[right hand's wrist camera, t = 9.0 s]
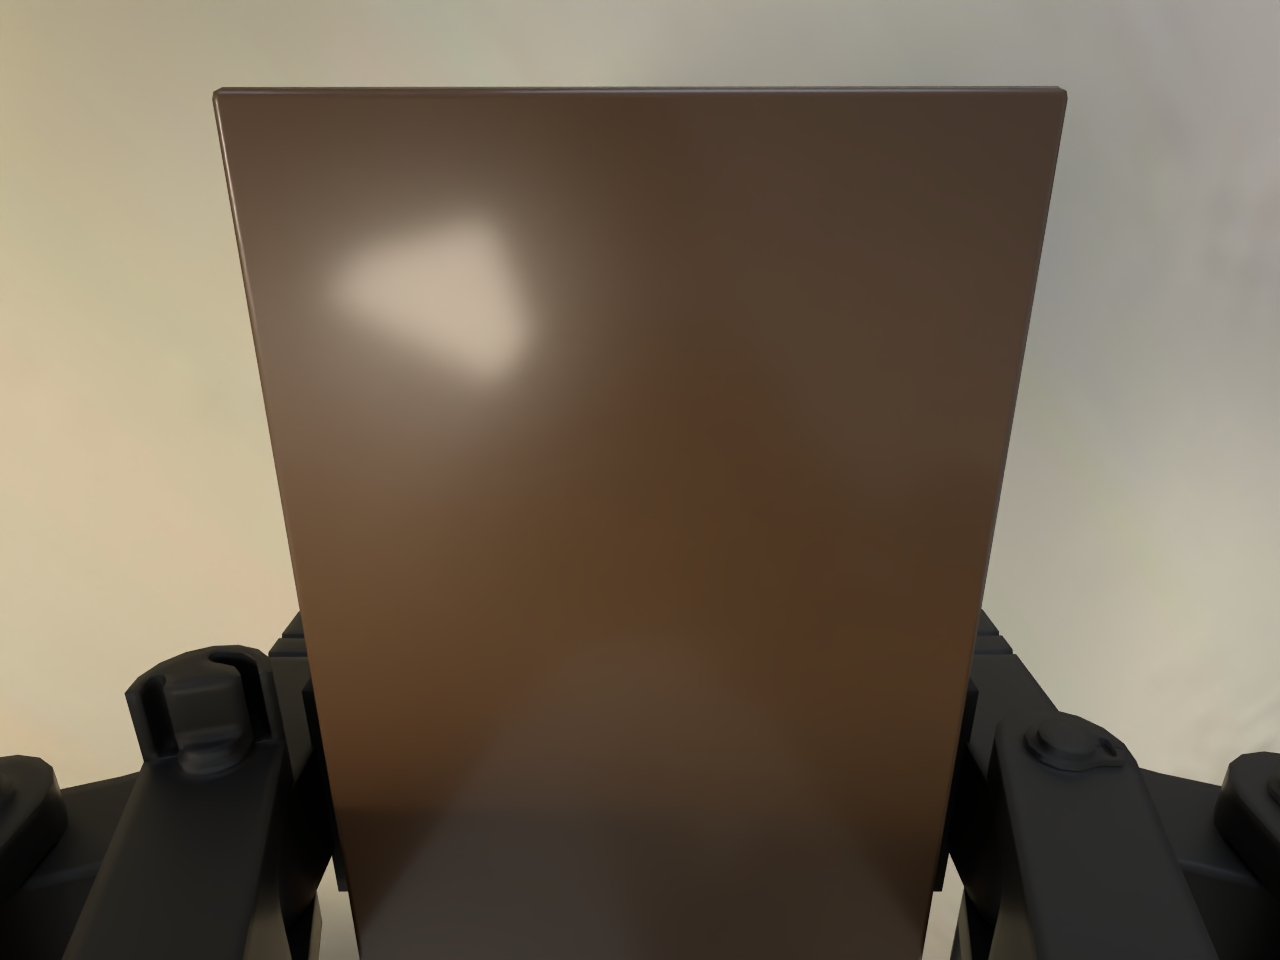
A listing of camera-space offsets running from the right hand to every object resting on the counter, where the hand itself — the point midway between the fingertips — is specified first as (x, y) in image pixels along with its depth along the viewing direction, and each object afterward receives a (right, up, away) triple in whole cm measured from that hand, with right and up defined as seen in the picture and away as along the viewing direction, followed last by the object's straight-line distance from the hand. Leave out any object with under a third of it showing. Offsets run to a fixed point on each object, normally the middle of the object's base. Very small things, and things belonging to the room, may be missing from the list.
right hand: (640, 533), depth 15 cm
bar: (0, -29, +12) cm, 31 cm away
